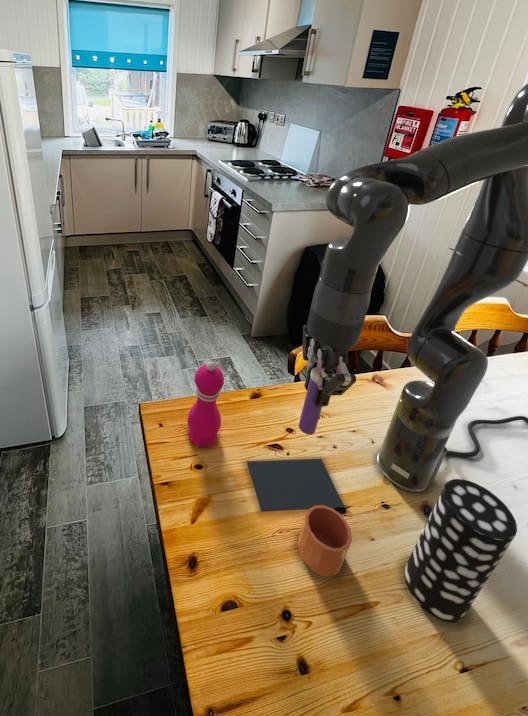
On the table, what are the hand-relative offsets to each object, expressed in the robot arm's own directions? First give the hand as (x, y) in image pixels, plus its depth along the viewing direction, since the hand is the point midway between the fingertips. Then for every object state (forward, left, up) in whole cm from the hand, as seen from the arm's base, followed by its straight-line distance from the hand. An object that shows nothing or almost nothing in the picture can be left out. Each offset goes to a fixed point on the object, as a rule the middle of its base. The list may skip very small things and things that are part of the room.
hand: (315, 396), depth 65 cm
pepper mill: (+15, -14, -25) cm, 32 cm away
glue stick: (0, 0, -7) cm, 7 cm away
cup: (-1, +10, -25) cm, 27 cm away
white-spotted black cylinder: (-17, +16, -25) cm, 34 cm away
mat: (-1, -2, -25) cm, 25 cm away
